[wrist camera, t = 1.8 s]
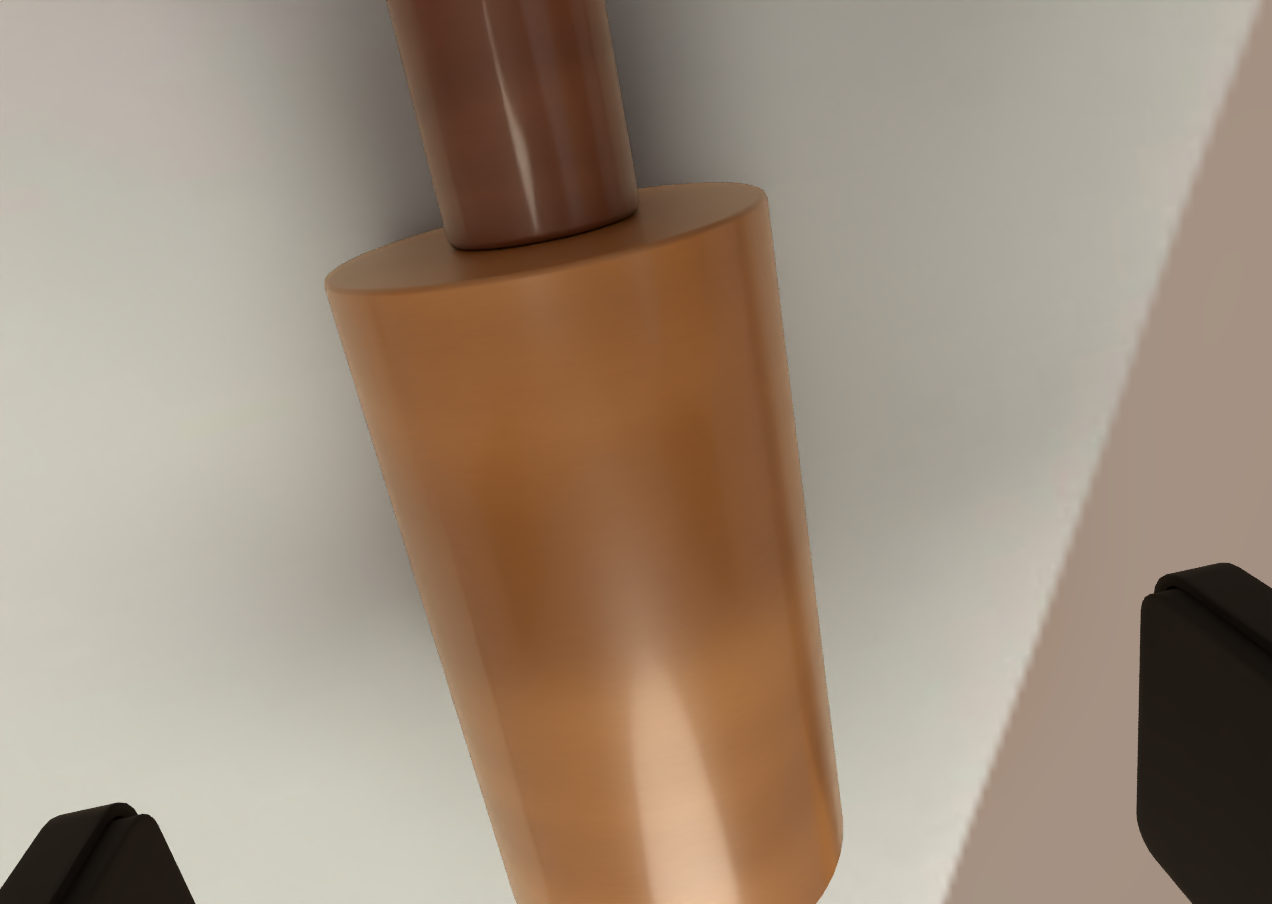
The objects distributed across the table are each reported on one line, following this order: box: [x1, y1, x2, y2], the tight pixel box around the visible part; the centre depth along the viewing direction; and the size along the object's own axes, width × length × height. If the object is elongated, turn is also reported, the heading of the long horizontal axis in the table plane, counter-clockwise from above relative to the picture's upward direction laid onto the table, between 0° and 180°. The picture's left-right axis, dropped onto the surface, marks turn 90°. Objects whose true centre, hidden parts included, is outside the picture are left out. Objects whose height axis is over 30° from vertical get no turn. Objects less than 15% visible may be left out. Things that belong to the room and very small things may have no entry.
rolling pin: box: [325, 0, 843, 904], centre depth 12 cm, size 15×5×5 cm, turn 10°
